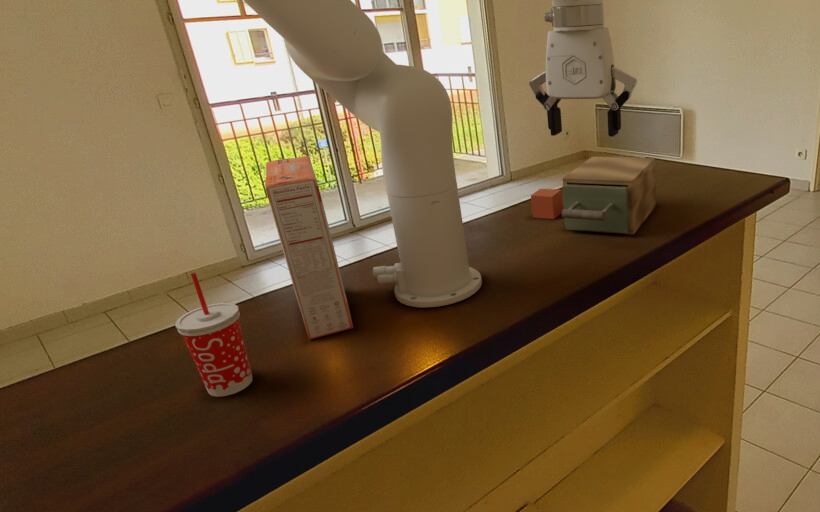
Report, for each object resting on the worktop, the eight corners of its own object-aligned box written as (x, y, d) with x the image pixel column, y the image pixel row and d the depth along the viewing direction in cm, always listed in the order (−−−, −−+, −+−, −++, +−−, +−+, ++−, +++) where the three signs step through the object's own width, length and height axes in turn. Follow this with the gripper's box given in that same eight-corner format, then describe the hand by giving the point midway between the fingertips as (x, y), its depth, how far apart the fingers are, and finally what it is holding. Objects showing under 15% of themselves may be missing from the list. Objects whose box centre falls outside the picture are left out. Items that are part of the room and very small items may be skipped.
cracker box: (301, 300, 90) (263, 160, 82) (343, 290, 92) (311, 153, 84) (305, 342, 78) (261, 184, 70) (354, 330, 80) (317, 175, 72)
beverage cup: (187, 400, 68) (145, 286, 62) (224, 369, 73) (188, 262, 68) (237, 401, 67) (198, 286, 61) (270, 370, 72) (238, 261, 67)
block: (554, 219, 116) (552, 196, 114) (532, 217, 117) (530, 195, 116) (563, 211, 120) (561, 189, 118) (542, 210, 121) (540, 188, 119)
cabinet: (633, 234, 105) (632, 180, 102) (566, 229, 110) (562, 178, 106) (655, 206, 119) (655, 158, 115) (594, 203, 123) (592, 156, 120)
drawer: (616, 246, 99) (614, 200, 96) (551, 241, 103) (547, 197, 100) (649, 206, 116) (648, 166, 113) (592, 203, 120) (590, 164, 117)
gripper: (514, 23, 90) (525, 138, 97) (627, 17, 84) (630, 140, 91) (535, 21, 97) (544, 129, 103) (641, 15, 91) (643, 130, 97)
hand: (584, 134), depth 97 cm, fingers open, 9 cm apart
